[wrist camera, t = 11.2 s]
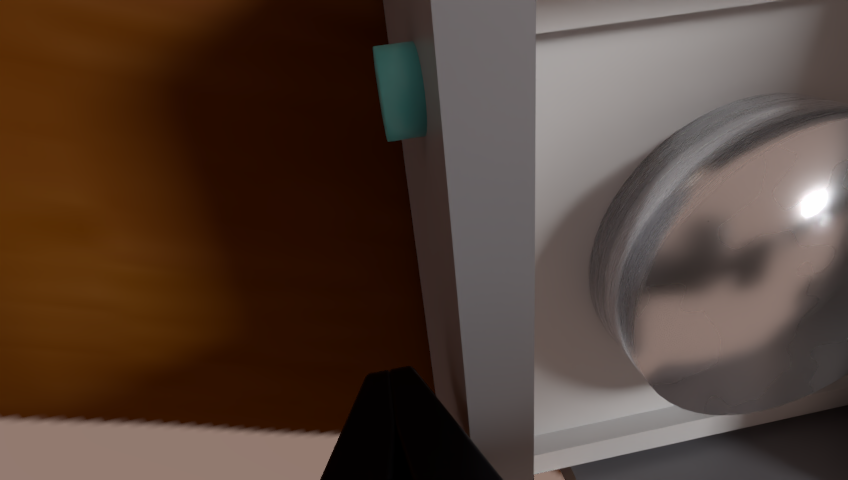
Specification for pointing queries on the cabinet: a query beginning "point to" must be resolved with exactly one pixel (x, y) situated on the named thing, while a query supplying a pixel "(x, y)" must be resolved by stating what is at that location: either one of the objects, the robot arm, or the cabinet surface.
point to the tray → (566, 193)
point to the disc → (733, 257)
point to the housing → (739, 454)
